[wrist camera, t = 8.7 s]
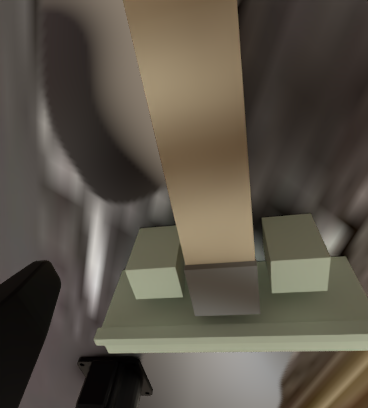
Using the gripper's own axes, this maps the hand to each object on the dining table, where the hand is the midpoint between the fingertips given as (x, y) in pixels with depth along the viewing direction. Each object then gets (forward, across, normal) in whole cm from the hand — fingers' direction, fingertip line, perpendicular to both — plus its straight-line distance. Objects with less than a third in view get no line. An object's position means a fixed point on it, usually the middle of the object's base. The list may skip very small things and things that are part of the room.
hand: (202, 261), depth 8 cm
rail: (+10, 0, 0) cm, 10 cm away
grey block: (+10, 0, +9) cm, 13 cm away
